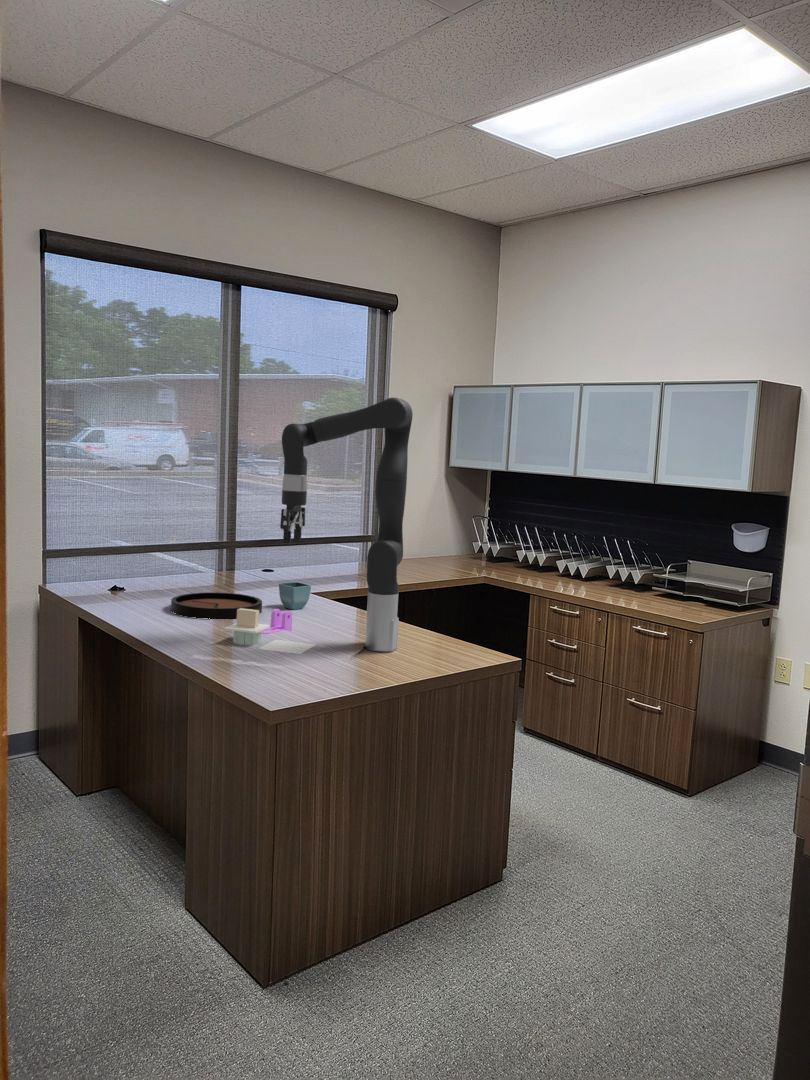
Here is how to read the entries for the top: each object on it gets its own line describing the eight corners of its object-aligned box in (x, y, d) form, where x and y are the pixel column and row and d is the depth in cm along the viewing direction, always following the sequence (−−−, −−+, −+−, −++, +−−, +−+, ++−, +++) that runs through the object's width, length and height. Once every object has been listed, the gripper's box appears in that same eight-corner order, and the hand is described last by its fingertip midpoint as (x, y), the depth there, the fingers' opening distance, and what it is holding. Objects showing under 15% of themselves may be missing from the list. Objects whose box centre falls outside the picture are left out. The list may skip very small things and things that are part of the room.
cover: (269, 627, 255) (270, 608, 254) (255, 633, 245) (256, 614, 245) (239, 623, 258) (240, 605, 257) (224, 629, 248) (225, 610, 247)
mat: (316, 647, 254) (316, 644, 254) (300, 657, 241) (300, 653, 241) (275, 642, 257) (275, 639, 257) (257, 652, 244) (257, 648, 244)
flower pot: (310, 609, 312) (312, 585, 311) (292, 611, 306) (293, 587, 305) (295, 605, 318) (296, 581, 317) (277, 607, 312) (278, 583, 311)
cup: (264, 643, 255) (265, 627, 254) (253, 649, 247) (254, 632, 247) (240, 640, 257) (240, 624, 256) (228, 646, 249) (228, 629, 249)
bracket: (277, 628, 277) (278, 607, 276) (291, 631, 274) (292, 610, 274) (252, 635, 265) (253, 613, 265) (266, 638, 263) (267, 616, 262)
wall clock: (280, 603, 301) (204, 612, 278) (279, 614, 301) (204, 624, 278) (228, 589, 322) (153, 596, 299) (227, 600, 322) (153, 608, 299)
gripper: (297, 491, 252) (294, 545, 254) (314, 489, 266) (311, 540, 268) (273, 489, 254) (271, 543, 256) (291, 487, 268) (289, 538, 269)
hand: (292, 541), depth 262 cm, fingers open, 8 cm apart
